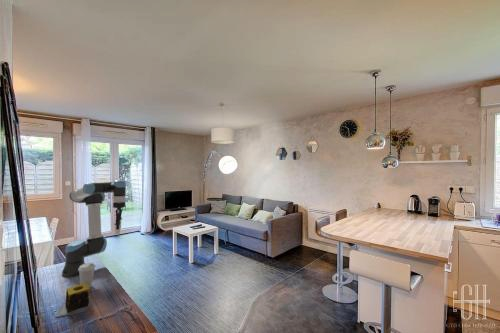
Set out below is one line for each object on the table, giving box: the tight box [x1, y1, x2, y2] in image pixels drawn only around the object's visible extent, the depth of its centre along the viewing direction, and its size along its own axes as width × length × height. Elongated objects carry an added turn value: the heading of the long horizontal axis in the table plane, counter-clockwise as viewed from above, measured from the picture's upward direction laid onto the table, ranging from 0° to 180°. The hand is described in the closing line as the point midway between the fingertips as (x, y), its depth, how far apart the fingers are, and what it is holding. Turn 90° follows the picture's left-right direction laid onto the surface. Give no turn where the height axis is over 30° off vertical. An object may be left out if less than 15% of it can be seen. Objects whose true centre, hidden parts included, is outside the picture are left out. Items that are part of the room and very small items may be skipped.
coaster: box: [54, 297, 92, 319], centre depth 133 cm, size 14×14×1 cm
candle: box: [65, 283, 91, 312], centre depth 134 cm, size 10×10×10 cm
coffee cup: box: [78, 262, 96, 289], centre depth 155 cm, size 10×10×15 cm
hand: (118, 231), depth 162 cm, fingers open, 13 cm apart
